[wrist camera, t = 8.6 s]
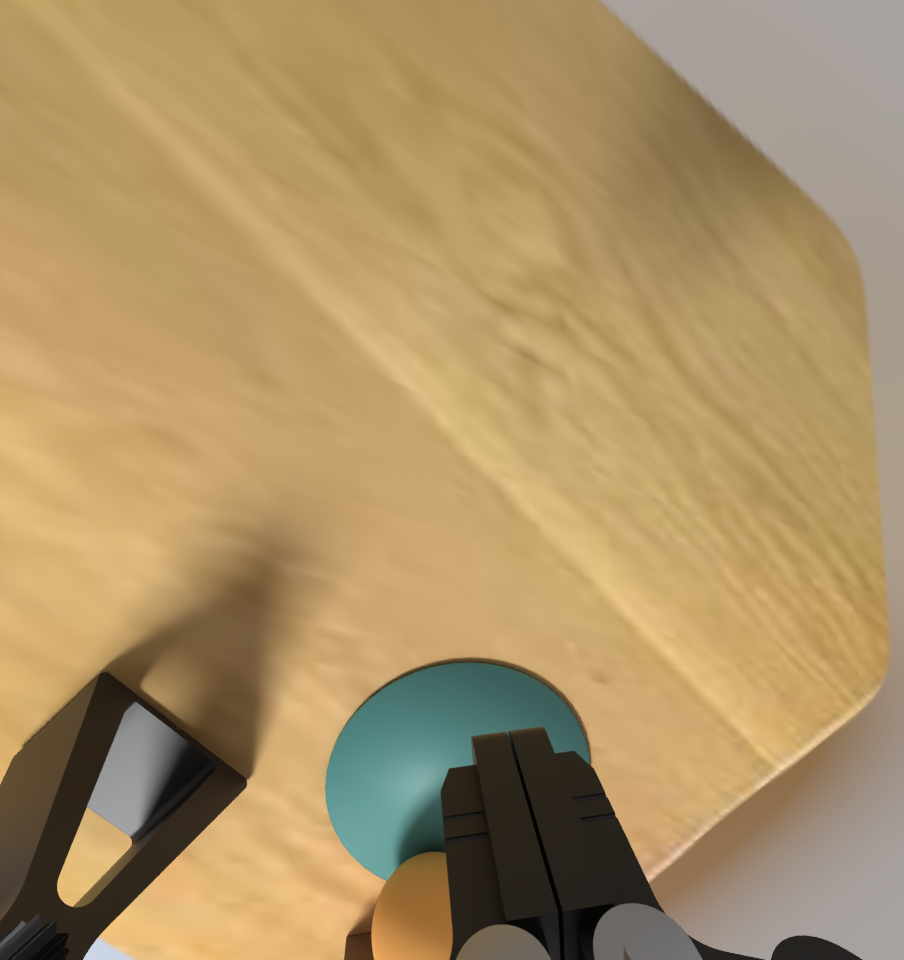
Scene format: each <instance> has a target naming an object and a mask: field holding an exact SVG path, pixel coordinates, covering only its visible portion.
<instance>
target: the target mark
mask: <svg viewBox="0 0 904 960" xmlns="http://www.w3.org/2000/svg"><path fill="white" fill-rule="evenodd" d="M541 726H543V727H544V728H545V730H546V732H547V735H548V737H549V740H550V742H551V745H552V747H553V750H554V752H555V753H561V752H568V751H575V752H576V753H577V754H579V755H580V756H581V757H582V758H583V759H584V760H585V761H586V762H587V763H588V764H589V765H590V761H589V752H588V748H587V744H586V740H585V737H584V735H583V732H582V730H581V728H580V725H579V723H578V721H577V720H576V718H575V716H574V715H573V713H572V712H571V710H570V709H569V708H568V706H567V705H566V704H565V703H564V702H563V700H562V699H561V698H560V697H559V696H558V695H556V694H555V693H554V692H553V691H552V690H551V689H550V688H549V687H547V686H545V685H544V684H542V683H541V682H539V681H538V680H536V679H535V678H533V677H530V676H528V675H526V674H524V673H522V672H520V671H517V670H514V669H511V668H508V667H505V666H499V665H494V664H489V663H477V662H460V663H448V664H443V665H437V666H432V667H429V668H425V669H422V670H419V671H415V672H413V673H411V674H409V675H406V676H404V677H402V678H399V679H397V680H396V681H394V682H392V683H391V684H389V685H387V686H385V687H384V688H382V689H381V690H380V691H378V692H377V693H376V694H374V695H373V696H372V697H370V698H369V699H368V700H367V701H366V702H365V703H364V704H363V705H362V706H361V707H360V708H359V709H358V710H357V711H356V712H355V713H354V715H353V716H352V717H351V719H350V720H349V721H348V722H347V724H346V725H345V727H344V728H343V730H342V732H341V734H340V735H339V737H338V739H337V741H336V744H335V746H334V748H333V751H332V753H331V757H330V761H329V765H328V769H327V776H326V787H325V788H326V803H327V808H328V812H329V817H330V820H331V822H332V825H333V827H334V830H335V832H336V834H337V835H338V837H339V839H340V841H341V842H342V844H343V845H344V847H345V848H346V849H347V850H348V852H349V853H350V854H351V855H352V856H353V857H354V858H355V859H356V860H357V861H358V862H359V863H360V864H361V865H362V866H363V867H365V868H366V869H368V870H369V871H371V872H372V873H373V874H375V875H376V876H378V877H380V878H382V879H384V880H386V881H387V880H388V879H389V877H390V876H391V875H392V873H393V872H394V871H395V870H396V869H397V868H398V867H399V866H400V865H401V864H403V863H404V862H405V861H407V860H408V859H410V858H412V857H414V856H416V855H418V854H422V853H426V852H443V853H446V850H445V839H444V827H443V816H442V804H441V793H440V791H441V788H442V786H443V783H444V780H445V778H446V775H447V772H448V770H449V768H455V767H462V766H469V765H473V758H472V745H471V736H476V735H483V734H491V733H498V732H505V731H506V732H507V735H508V731H512V730H519V729H526V728H534V727H541Z"/></svg>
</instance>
